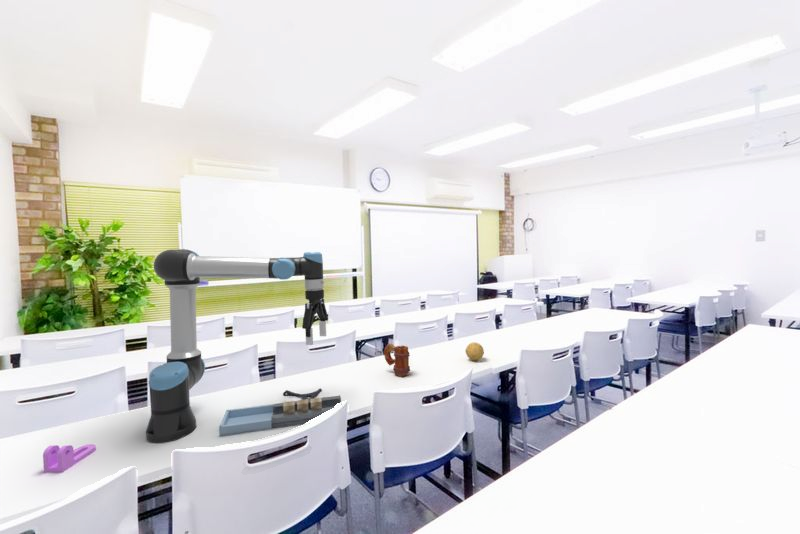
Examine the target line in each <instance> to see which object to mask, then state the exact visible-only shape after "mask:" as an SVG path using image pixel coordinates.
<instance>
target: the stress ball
mask: <svg viewBox="0 0 800 534" xmlns="http://www.w3.org/2000/svg"><path fill="white" fill-rule="evenodd" d="M465 354H466V356H467V358H469V359H470V360H471V361H473V362H477V361H479V360H481V359H482V358H483V356H484V354H485V349H484V348H483V345H482V344H480V343H478V342H471V343H469V344H468V345H467V346H466V348H465Z"/></svg>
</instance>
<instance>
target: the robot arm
mask: <svg viewBox="0 0 800 534" xmlns="http://www.w3.org/2000/svg"><path fill="white" fill-rule="evenodd" d="M323 261H324V260H323V254H322V253H321V252H320V251H309V252H307V251H305V252H304V253H303V256H300V257H274V258H272V257H247V256H246V257H243V256H240V257H239V256H236V257H235V256H211V255H209V256H208V255H207V256H203V255H202V256H200V255H199V254H198V253H197V252H196V251H192V250H190V249H185V248H182V249H166V250H163V251H162V252H160V253H159V254H157V256H156V257H155V259H154V261H153V270H154V273H155V274H156V275H157V276H158V277H159V278H160V279H162V280H163V281H164V286H165V287H167V289H169V313H170V314H169V317H170V319H169V320H170V351H169V353H168V354H167V355H166V363H163V364H162V365H161V364H160V365H158V366H155V367H154V368H152V370H151V371H150V373H149V379H148V385H149V397H150V398H149V400H150V418H149V421H148V425H147V426H146V429H145V430H146V431H145V439H146V441H148V442H149V443H167V442H172V441H175V440H179V439H181V438H183V437H185V436H188V435H189V434H192V433H193V432H194V431H195V430H196V429H197V419H196V417H195V414H194V411H193V410H192V408H191V402H190V401H191V400H190V399H191V398H190V390H191V389H192V388H193V387H194V386H195V385H197V383H199V382H200V380H201V379H202V378H203V375H204V374H205V371H206V364H205V361H204V359H203V358H202V351H201V350H200V349H199V348H197V347H198V346H197V345H198V343H197V302H196V301H197V300H196V299H197V297H196V293H197V292H196V291H197V290H196V288H197V287H198V286H199V285H201V278H215V279H216V278H217V279H218V278H220V279H221V278H225V279H226V278H227V279H229V278H231V279H235V278H236V279H275V280H276V279H277V280H282V281H283V280H288V279H290V278H292V277H298V276H303V277H304V289H305V291H304V293H305V294H304V295H305V300H308V303H307V302H306V303H305V304H304V314H303V319H302V326H301V328H302V329H303V330H305V332H304V333H305V346H312V345H314V334H313V332H314V331H313V330H314V329H313V328H312V327H313V323H314V319H315V316H316V314H317V316H318V317H317V318H319V322H318V323H319V324H318V325H319V326H318V328H319V329H318V330H319V337H327V324H326V322H327V321H329V315H328V313H327V309H326V304H325V290H324V287H325V286H324V283H325V280H324V266H323V265H324V263H323Z"/></svg>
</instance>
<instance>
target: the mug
mask: <svg viewBox="0 0 800 534" xmlns="http://www.w3.org/2000/svg"><path fill="white" fill-rule="evenodd" d="M392 352H393V356H394V358H392V356H391V353H392ZM383 356H384V359H385V361H386V363H387V365H388V366H392V365H393V372H394V375H396V376H398V377H406V376H408V375H409V373H410V371H411V367H410V364H409V360H410V358H409V357H410V352H409V347H408V346H406V345H397V346H395V345H394V344H393V343H387V345H386V346H385V347H384V350H383Z"/></svg>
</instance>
